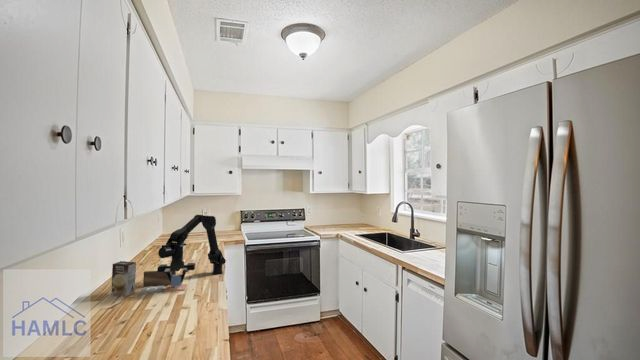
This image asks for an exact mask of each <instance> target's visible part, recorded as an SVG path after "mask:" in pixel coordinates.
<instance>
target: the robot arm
mask: <svg viewBox="0 0 640 360" xmlns="http://www.w3.org/2000/svg"><path fill="white" fill-rule="evenodd" d="M200 223H201V225H202V227H203V228H204V229H205V231H206V234H207V235H206V236H207V241H208V244H209V252H208V253H207V256H208V258H207V260H209V263H210V264H212V271H211V274H212V275H221V274H222V275H223V265H225V264H226V261H227V260H226V259H225V257H224V255H223V252H222V250H221V249H220V248H219V245H218V240H217V236H216V229H215V228H216V225H217V220H216V216H215V215H203V214H195V215H194V216H193V217H192V219H190V220H189V221H188V222H187V223H186V224H185V225H183V226H182V227H181V228H179V229H176V230H175V231H173V232H172V233H171V234H170V236H169V238H168V239H167V240H166V243H165V244H162V245H161V247H160V248H159V249H158V252H157V253H158V254H157V255H158V256H159V258H160V259H165V258H171V260H170V263H169V264H170V265H168V264H167V263H165V264H159V266H158V267H157V269H156V271H157V272H164V273H166V274H167V275H168V277H169V280H170V283H171V276H172V272H173V271H176V272H179V271H181V270H182V273H181V274H182V279H181V283H182V284H183V281H184V278H185V275H186V274H187V273H189V271H195V270H196V262H188V263H187V264H185V261H184V246H187V243H185V241H186V240H187V239H188V237H189V234H190V233H191V232H192V231H193V230H194V229H195V228H196V227H197V226H198V225H200Z"/></svg>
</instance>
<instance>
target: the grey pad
mask: <svg viewBox="0 0 640 360" xmlns="http://www.w3.org/2000/svg"><path fill="white" fill-rule="evenodd" d="M164 287H165V285H162V286H146V287H142V289H141V290H140V291H139V294H140V295H141V294H155V293H162V291H163V289H164Z"/></svg>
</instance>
